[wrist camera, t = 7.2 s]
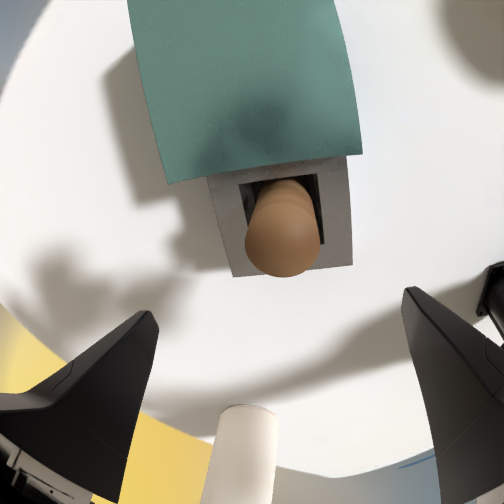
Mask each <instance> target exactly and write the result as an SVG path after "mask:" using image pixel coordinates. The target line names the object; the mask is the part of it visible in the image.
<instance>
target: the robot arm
mask: <svg viewBox="0 0 504 504" xmlns="http://www.w3.org/2000/svg"><path fill="white" fill-rule="evenodd" d="M401 312H402V317H403V321H404V326H405V331H406V335H407V340H408V345H409V350H410V354H411V357H412V360H413V364H414V367H415V370H416V374H417V377H418V381H419V384H420V388H421V392H422V396H423V399H424V403H425V408H426V412H427V416H428V420H429V425H430V430H431V435H432V440H433V445H434V450H435V456H436V458H437V459H436V463H437V470H438V477H439V485H440V494H441V504H464V503H466V502H468V501H471V500H473V499H475V498H476V504H504V343H503V344H502V345H501V347H499V346H498V345H497V344H495V343H494V342H493V341H491V340H490V339H489V338H486V336H485V335H484V334H482V333H481V332H480V331H478V330H477V329H476V328H474V327H473V326H472V325H470V324H469V323H468V322H466V321H465V320H463V319H462V318H461V317H459V316H458V315H457V314H455V313H454V312H452V311H451V310H450V309H448V308H447V307H445V306H444V305H443V304H441V303H440V302H438V301H437V300H436V299H434V298H433V297H431V296H430V295H428V294H427V293H425V292H424V291H422V290H421V289H420V288H418V287H416V286H413V287H407V288H405V289H404V293H403V299H402V306H401ZM476 314H477V316H478V317H480V316H484V315H489V317H490V318H491V320H492V321H493V323H494V325H495V326H496V328H497V330H498V332H499V333H500V335H501V337H502V338H503V340H504V263H501V264H496V265H493V266H491V267H490V269H489V273H488V276H487V280H486V283H485V287H484V290H483V293H482V296H481V300H480V303H479V306H478V308H477V311H476ZM158 335H159V326H158V324H157V322H156V320H155V318H154V316H153V315H152V313H151V312H150V311H149V310H141V311H139V312H137V313H136V314H134V315H133V316H132V317H130V318H129V319H128V320H126V321H125V322H123V323H122V324H121V325H119V326H118V327H117V328H115V329H114V330H113V331H111V332H110V333H108V334H107V335H106V336H104V337H103V338H102V339H100V340H99V341H98V342H96V343H95V344H94V345H92V346H91V347H90V348H88V349H87V350H86V351H84V352H83V353H82V354H80V355H79V356H77V357H76V358H75V359H74V360H72V361H71V362H69V363H68V364H67V365H65V366H64V367H63V368H61V369H60V370H59V371H57V372H56V373H54V374H53V375H51V376H50V377H48V378H47V379H45V380H44V381H42V382H41V383H39V384H37V385H36V386H34V387H33V388H31V389H30V390H28V391H26V392H24V393H19V394H9V393H0V504H95V503H93V502H91V498H92V495H93V493H94V494H96V495H98V496H100V497H102V498H105V499H107V500H109V501H111V502H114V503H116V504H118V500H119V496H120V491H121V486H122V481H123V477H124V472H125V467H126V463H127V457H128V454H129V449H130V446H131V442H132V438H133V433H134V430H135V426H136V422H137V418H138V414H139V411H140V407H141V403H142V400H143V396H144V393H145V389H146V386H147V382H148V379H149V375H150V372H151V369H152V365H153V360H154V355H155V350H156V345H157V340H158Z"/></svg>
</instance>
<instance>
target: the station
mask: <svg viewBox="0 0 504 504" xmlns="http://www.w3.org/2000/svg"><path fill="white" fill-rule="evenodd" d="M127 4H128V10H129V17H130V23H131V29H132V34H133V40H134V45H135V51H136V56H137V61H138V66H139V70H140V75H141V80H142V84H143V89H144V93H145V98H146V102H147V106H148V110H149V115H150V119H151V123H152V127H153V131H154V135H155V138H156V142H157V146H158V150H159V154H160V157H161V161H162V164H163V168H164V172H165V175H166V179H167V182H168V184H171V183H175V182H179V181H184V180H189V179H193V178H198V177H203V176H206V178H207V182H208V185H209V189H210V193H211V197H212V201H213V205H214V209H215V213H216V216H217V220H218V224H219V228H220V231H221V235H222V239H223V243H224V246H225V250H226V254H227V257H228V261H229V265H230V268H231V272H232V275H233V277H243V276H254V275H264V274H265V273H263V272H262V271H260V270H259V269H257V268H256V267H255V266H254V265H253V264H252V263H251V261H250V260H249V258H248V256H247V254H246V251H245V236H246V233H247V230H248V227H249V223H250V220H251V217H252V214H253V211H254V208H255V201H254V196H253V191H252V186H251V182H256V181H263V180H269V179H276V178H284V177H291V176H299V175H307V174H314V180H315V188H316V196H317V205H318V214H319V219H316V223H317V228H318V233H319V238H320V251H319V254H318V257H317V259H316V261H315V262H314V263H313V265H312V266H311V267H310V268H309V269H307V270H313V269H322V268H331V267H340V266H349V265H353V259H352V226H351V207H350V192H349V180H348V169H347V159H346V156H348V155H360V154H363V151H362V141H361V133H360V124H359V117H358V110H357V103H356V97H355V91H354V85H353V80H352V74H351V69H350V64H349V59H348V55H347V50H346V46H345V41H344V37H343V33H342V29H341V25H340V22H339V18H338V14H337V11H336V7H335V4H334V1H333V0H127Z"/></svg>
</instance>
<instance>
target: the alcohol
mask: <svg viewBox="0 0 504 504" xmlns="http://www.w3.org/2000/svg"><path fill="white" fill-rule="evenodd" d="M278 436H279V420H278V419H277V417H276V415H275V414H274V413H273V412H271V411H270V410H268V409H265V408H262V407H258V406H253V405H235V406H231V407H229V408H227V409H226V410H225V411H224V412H223V413H221V415H220V419H219V423H218V427H217V432H216V436H215V441H214V445H213V449H212V454H211V458H210V463H209V467H208V471H207V476H206V480H205V484H204V489H203V493H202V498H201V502H200V504H271V502H272V494H273V484H274V476H275V475H274V474H275V467H276V457H277V446H278Z"/></svg>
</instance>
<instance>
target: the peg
mask: <svg viewBox="0 0 504 504" xmlns="http://www.w3.org/2000/svg"><path fill="white" fill-rule="evenodd" d="M245 251H246V254H247V256H248V258H249V260H250V261H251V263H252V264H253V265H254V266H255V267H256V268H257V269H259V270H260V271H262V272H263V273H265V274H268V275H271V276H275V277H292V276H296V275H298V274H301V273H303V272H304V271H306V270H307V269H309V268H310V267H311V266H312V265H313V263H314V262H315V261H316V259H317V257H318V254H319V251H320V238H319V233H318V228H317V223H316V218H315V213H314V208H313V203H312V199H311V194H310V189H309V185H308V183H307V181H306V179H305V178H304V177H303V176H302V175H299V176H291V177H284V178H276V179H269V180H264V181H263V183H262V186H261V189H260V192H259V196H258V199H257V202H256V205H255V208H254V211H253V214H252V217H251V220H250V223H249V227H248V230H247V233H246V236H245Z"/></svg>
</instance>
